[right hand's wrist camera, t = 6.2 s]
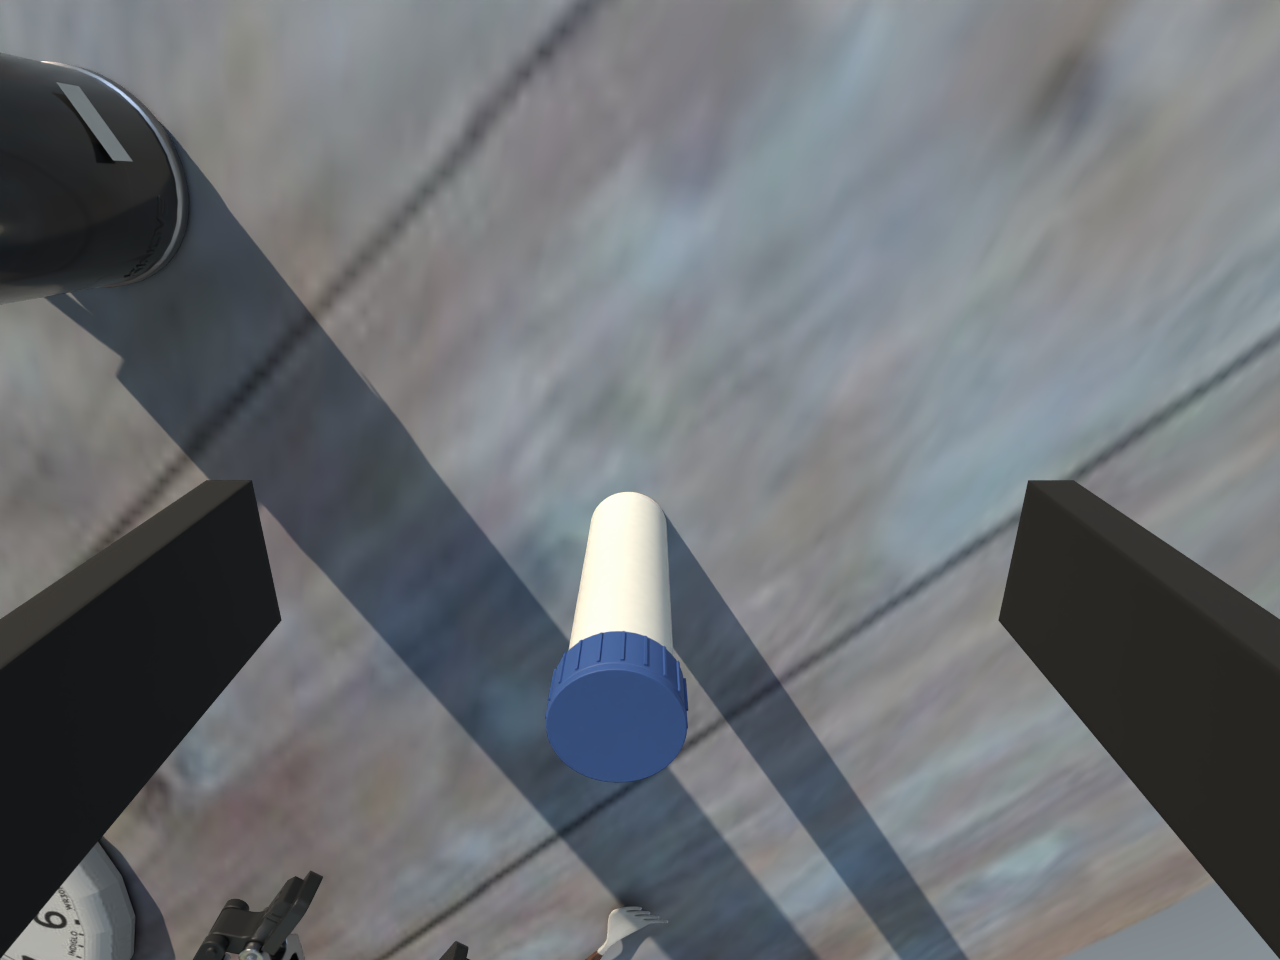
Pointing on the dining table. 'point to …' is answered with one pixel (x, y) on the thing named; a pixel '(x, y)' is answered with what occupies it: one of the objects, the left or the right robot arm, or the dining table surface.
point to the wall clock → (82, 917)
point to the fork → (624, 926)
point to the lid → (617, 707)
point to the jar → (625, 572)
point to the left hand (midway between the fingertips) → (386, 924)
